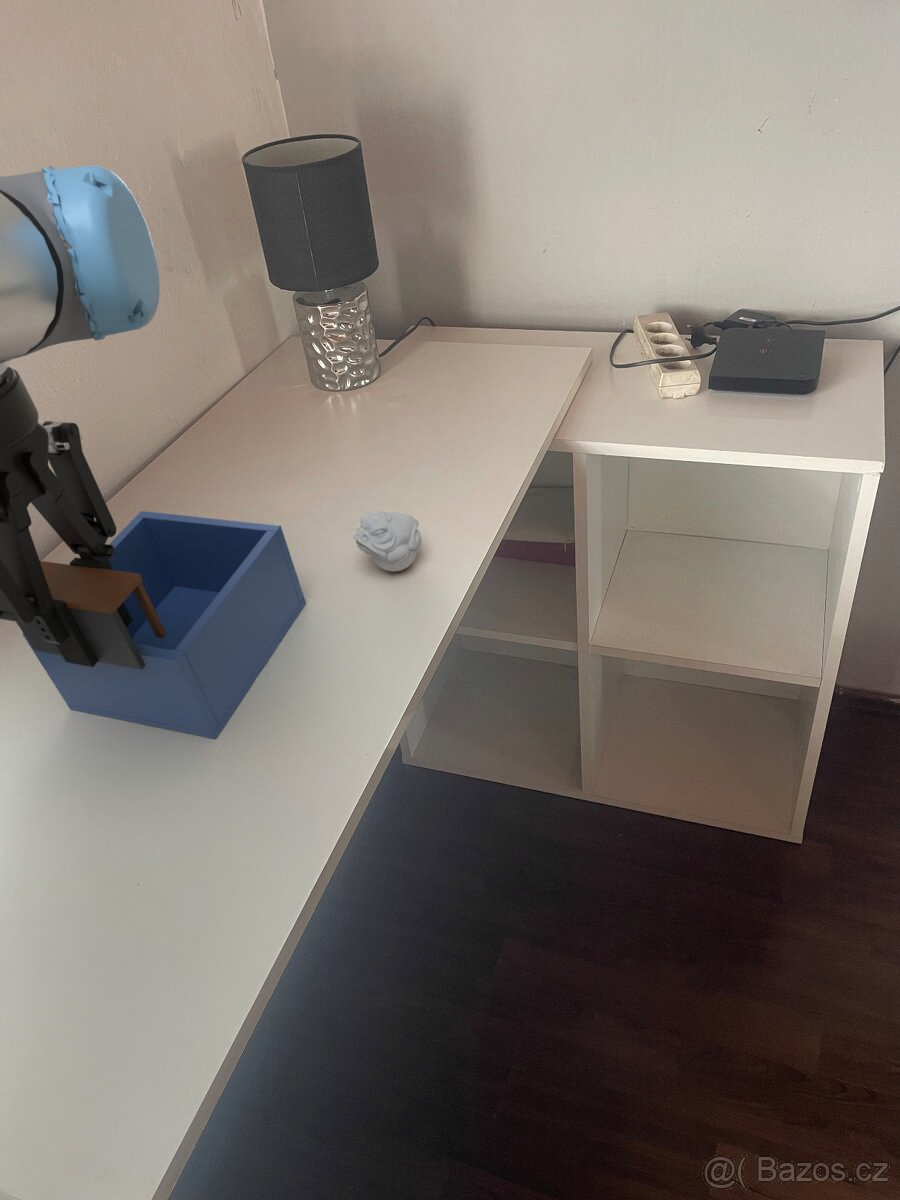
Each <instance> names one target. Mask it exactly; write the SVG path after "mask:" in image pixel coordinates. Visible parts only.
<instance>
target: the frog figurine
mask: <svg viewBox="0 0 900 1200" xmlns="http://www.w3.org/2000/svg"><path fill="white" fill-rule="evenodd" d="M359 524H360V526H359V527H357V528H356V530H355V533H353V536H352V537H353V539H354V540H355V544H356V545H357V548H358V549H359V550H360V551H362V552H363V553H365V554H366V555H367V556H369V557H370V558H371V560H372V562H373V563H374V564H375V565H376V566H377V567H379V568H381V569H382V570H384V571H387V572H400V571H403V570H405V569H407V568H409V566H411V565H412V563H414V561H415V559H416V557H417V555H418V551H419V549H420V548H421V545H422V535H421V531H420V530H419V529H418V528H419V521H418V519H417V518H415V517H414V516H412V515H409V514H407V513H402V512H397V511H384V510H377V511H376V512H373V513H371V512H365V513H363V514H362V515H361V517H360V520H359Z"/></svg>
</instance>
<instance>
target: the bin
mask: <svg viewBox="0 0 900 1200" xmlns="http://www.w3.org/2000/svg"><path fill="white" fill-rule="evenodd" d="M108 545H113V547H114V554H113V556H112V557H111V558H108V560H109V562H110V564H111V567H112V568H113V571H121V572H128V573H136V574H141V576H142V579H143V580H142V581H141V582H142V585H143V587H144V589H145V591H146V593H147V595H148V597H149V599H150V601H151V603H152V605H153V607H154V609H155V611H156V613H157V615H158V617H159V619H160V621H161V623H162V625H163V627H164V630H165V632H166V634H167V635H166V636H165V637H164V638H159V637H156V636H155V634H154V632H153V630H152V628H151V626H150V624H149V622H148V620H147V618H146V616H145V614H144V612H143V610H142V608H141V606H140V604H139V602H138V600H137V598H136V596H135V594H134V592H132V593H131V594H130V595H129V596H128V597H127V598H126V600H125V601H124V602H123V603H124V605H125V606H126V608H127V610H128V612H129V614H130V616H131V618H132V620H133V621H132V622H131V623H130V624H129V625H128V626H126V628H127V630H128V632H129V634H130V636H131V638H132V640H133V641H134V643H135V645H136V647H137V649H138V651H139V653H140V655H141V657H142V658H143V660H144V662H145V664H146V665H145V667H144V668H143V669H142V670H140V669H134V668H128V667H123V666H117V665H111V664H106V663H100V662H97V663H96V664H95V665H94V667H89V666H84V665H78V664H73V663H67V662H66V661H65V659H64V658H63V656H61V655H55V654H50V653H44V652H38V651H34V649H33V648H32V646H31V644H30V643H29V641H28V640H27V638H26V637H25V635H24V633H23V632H22V636H23V638H24V639H25V641H26V642H27V644H28V645H29V647H30V649H31V650H32V652H33V654H34V655H35V656H36V658H37V659H38V661H39V663H40V664H41V666H42V667H43V669H44V671H45V672H46V674H47V676H48V677H49V679H50V680H51V681H52V683H53V685H54V687H55V688H56V689H57V692H58V693H59V694H60V696H61V698H62V699H63V700H64V702H65V704H66V706H67V707H68V709H69V710H71V711H75V712H80V713H85V714H91V715H94V716H95V715H96V716H99V717H103V718H104V717H105V718H110V719H116V720H119V721H124V722H129V723H134V724H138V725H143V726H149V727H154V728H159V729H164V730H167V731H174V732H178V733H183V734H187V735H193V736H197V737H202V738H207V739H212V740H217V738H218V737H219V735H220V733H221V732H222V730H224V728H225V726H226V725H227V723H228V722H229V720H230V718H231V717H232V716H233V714H234V713H235V711H236V710H237V708H238V707H239V705H240V703H241V702H242V700H243V699H244V697H245V696H246V695H247V694H248V691H249V690H250V689H251V687H252V686H253V684H254V682H255V681H256V679H257V678H258V677H259V675H260V673H261V672H262V670H263V669H264V668H265V666H266V664H267V663H268V662H269V660H270V659H271V657H272V656H273V654H274V652H275V651H276V649H277V648H278V647H279V645H280V644H281V642H282V640H283V639H284V637H285V636H286V634H287V633H288V632H289V630H290V628H291V627H292V625H293V624H294V622H295V620H296V619H297V618H298V616H299V615H300V614H301V612H302V610H303V608H305V606H306V605H307V601H306V599H305V595H304V592H303V589H302V586H301V583H300V581H299V578H298V574H297V571H296V568H295V565H294V562H293V559H292V556H291V553H290V549H289V547H288V543H287V539H286V538H285V534H284V532H283V528H282V525H277V524H270V523H269V524H268V523H260V522H259V523H258V522H249V521H248V522H247V521H240V520H230V519H221V518H211V517H210V518H209V517H201V516H194V515H193V516H192V515H183V514H176V513H175V514H173V513H164V512H154V511H147V510H146V511H145V510H141V511H139V512H138V514H137V515H135V516H134V518H133V519H132V520H131V521H130V522H129V523H128V524H127V525H126V526H125V527H124V528H123V529H122V530H121V531H119V533H118V535H116V536H114V538H113V539H112V541H111V542H110V543H108Z"/></svg>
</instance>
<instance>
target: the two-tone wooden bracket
mask: <svg viewBox="0 0 900 1200" xmlns="http://www.w3.org/2000/svg"><path fill="white" fill-rule="evenodd" d="M40 563H41V566H42V569H43V572H44V575H45V578H46V581H47V584H48V587H49V589H50V592H51V595H52V598H53V599H55V600H62V601H65V603H66V605H67V607H68V608H69V610H70V612H71V614H72V616H73V617H74V619H75V621H76V623H77V624H78V626H79V628H80V629H81V631H82V633H83V635H84V636H85V638H86V640H87V642H88V643H89V645H90V647H91V649H92V650H93V652H94V654H95V656H96V657H97V659H98V662H100V663H106V664H111V665H117V666H123V667H128V668H134V669H140V670H142V669H143V668H144V667H145V665H146V664H145V662H144V660H143V658H142V657H141V655H140V653H139V651H138V649H137V647H136V645H135V643H134V641H133V640H132V638H131V636H130V634H129V632H128V630H127V628H126V626H125V624H124V622H123V621H122V619H121V617H120V615H119V613H118V611H117V609H118V607H119V606H120V605H121V604H122V603H123V602H124V601H125V600H126V598H127V597H128V596H129V595H130V594H131V593H132V592H134V594H135V596H136V598H137V600H138V602H139V604H140V606H141V608H142V610H143V612H144V614H145V616H146V618H147V620H148V622H149V624H150V626H151V628H152V630H153V632H154V634H155V636H156V637H159V638H164V637H165V636H166V635H167V634H166V632H165V630H164V627H163V625H162V623H161V621H160V619H159V617H158V615H157V613H156V611H155V609H154V607H153V605H152V603H151V601H150V599H149V597H148V595H147V593H146V591H145V589H144V587H143V585H142V582H141V581H142V580H143V579H142V576H141V574H136V573H128V572H121V571H113V570H106V569H98V568H90V567H82V566H75V565H70V564H69V563H60V562H59V563H58V562H52V561H45V560H40ZM15 623H16V624H17V626H18V628H19V629H20V631H21V632H22V634H23V633H24V635H25V637H26V638H27V640H28V641H29V643H30V644H31V646H32V648H33V649H34V651H38V652H44V653H50V654H55V655H61V656H62V654H61V653H60V651H59V650H58V648H57V646H56V645H55V643H49V642H46V641H44V640H43V639H42V638H41V636H40V634H39V633H38V631H37V630H36V628H35V626H34V625H33V623H32V622H30V623H22V622H15Z"/></svg>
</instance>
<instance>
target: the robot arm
mask: <svg viewBox="0 0 900 1200" xmlns="http://www.w3.org/2000/svg"><path fill="white" fill-rule="evenodd" d="M159 274H160V273H159V265H158V259H157V256H156V250H155V247H154V243H153V240H152V236H151V233H150V230H149V226H148V224H147V221H146V218H145V216H144V214H143V211H142V210H141V206H140V205H139V203H138V201H137V200H136V198H135V196H134V194H133V193H132V191H131V189H130V188H129V186H128V185H127V184H126V183H125V182H124V180H123V179H121V178H120V176H118V175H117V174H116V173H115V172H113V171H112V170H110V169H108V168H106V167H104V166H101V165H95V164H94V165H92V164H91V165H82V166H73V167H72V166H71V167H63V168H55V167H53V166H51V165H49V166H44V167H41V170H39V171H36V172H28V173H20V174H14V175H13V174H12V175H6V176H0V620H5V621H11V622H15V623H16V622H22V623H30V622H32V623H33V625H34V626H35V628H36V630H37V631H38V633H39V634H40V636H41V638H42V639H43V640H44V641H46V642H49V643H55V645H56V646H57V648H58V650H59V651H60V653H61V654H62V656H63V658H64V659H65V661H66V662H67V663H73V664H78V665H84V666H89V667H94V665H95V664H96V663H97V662H98V659H97V657H96V656H95V654H94V652H93V650H92V649H91V647H90V645H89V643H88V642H87V640H86V638H85V636H84V635H83V633H82V631H81V629H80V628H79V626H78V624H77V623H76V621H75V619H74V617H73V616H72V614H71V612H70V610H69V608H68V607H67V605H66V603H65V601H62V600H55V599H53V598H52V595H51V592H50V589H49V587H48V584H47V581H46V578H45V575H44V572H43V569H42V566H41V563H40V561H41V560H40V557H39V555H38V551H37V549H36V546H35V543H34V540H33V537H32V534H31V531H30V527H31V525H32V518H31V516H30V513H29V510H28V507H29V505H30V504H32V506H33V507H34V508H35V509H36V510H37V512H38V513H39V514H40V515H41V517H42V518H43V519H44V520H45V521H46V522H47V523H48V525H49V526H50V527H51V529H53V531H54V532H55V533H56V535H58V537H59V538H60V539H61V540H62V541H63V542H64V543H65V545H66V546H67V547H68V548H69V550H71V551H72V553H73V554H74V555H78V556H79V557H74V558H73V559H72V560H71V561H70V562H69V563H68V565H75V566H82V567H90V568H98V569H106V570H113V568H112V567H111V564H110V562H109V560H108V558H111V557H112V556H113V554H114V547H113V545H109V544H108V543H107V541H108V539H109V538H113V537H115V535H116V534H117V525H116V523H115V521H114V519H113V516H112V514H111V511H110V509H109V507H108V505H107V503H106V500H105V499H104V496H103V494H102V492H101V489H100V487H99V485H98V483H97V481H96V479H95V477H94V475H93V471H92V470H91V468H90V467H91V466H90V465H89V464H88V461H87V459H86V457H85V454H84V452H83V447H82V441H81V433H80V428H79V426H78V424H77V423H75V422H65V421H52V420H51V421H50V420H46V421H44V422H43V423H40V422H39V411H38V408H37V407H36V405H35V403H34V401H33V399H32V397H31V395H30V394H29V391H28V389H27V387H26V385H25V383H24V380H23V379H22V377H21V375H20V373H19V371H17V370H16V369H14V368H12V367H10V364H11V361H12V360H15V359H18V358H22V357H25V356H28V355H30V354H33V353H35V352H39V351H40V350H43V349H46V348H48V347H53V346H55V345H59V344H63V343H71V342H76V341H83V340H92V339H93V340H94V341H102V340H105V338H106V337H108V336H112V335H117V334H122V333H126V332H131V331H132V332H133V331H135V330H140V329H142V328H144V327H146V326H147V325H149V323H151V321H152V320H153V319H154V317H155V315H156V313H157V311H158V306H159V303H160V291H161V290H160V288H161V287H160V275H159ZM49 464H50V466H49ZM50 467H51V468H50ZM106 543H107V544H106ZM117 611H118V613H119V615H120V617H121V619H122V621H123V622H124V624H125V626H128V625H129V624H130V623H131V622H132V621H133V620H132V618H131V616H130V614H129V612H128V610H127V608H126V606H125V605H124V603H122V604H121V605H120V606H119V607H118V609H117Z"/></svg>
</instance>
